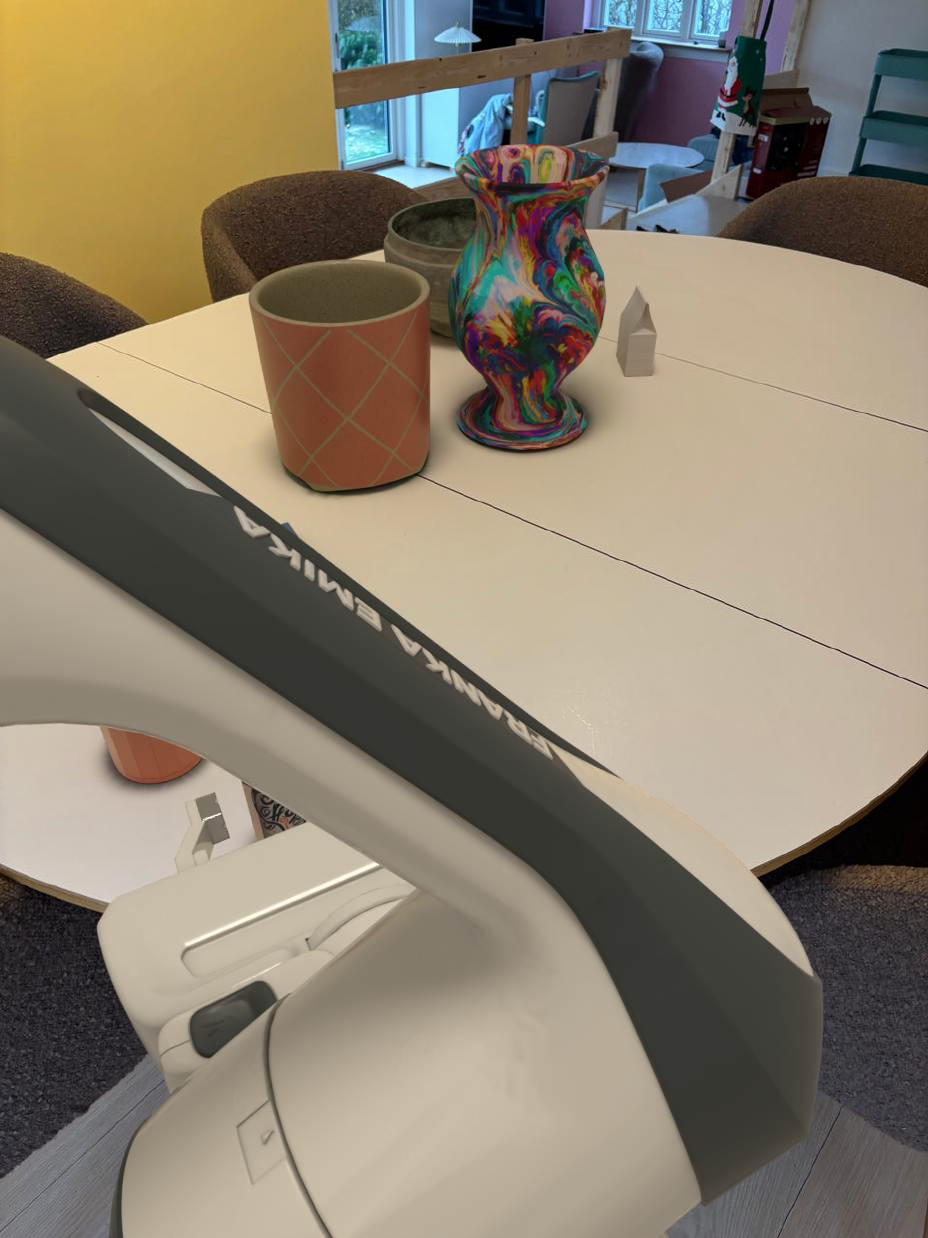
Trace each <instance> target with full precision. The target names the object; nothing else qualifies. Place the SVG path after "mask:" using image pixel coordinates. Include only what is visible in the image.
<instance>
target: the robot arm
mask: <svg viewBox="0 0 928 1238" xmlns="http://www.w3.org/2000/svg"><path fill="white" fill-rule="evenodd" d="M281 524H282V523H280V522H279V521H277V520H276V519H275V518H273V517H272V516H271V515H269V514H268V513H266V512H265V511H264V510H263V509H262V508H260V507H258V506H257V505H256V504H255V503H253V502H251V501H250V500H249V499H248V498H246V497H245V496H243V495H242V494H241V493H240V492H238V491H237V490H235V489H234V488H233V487H231V486H230V485H229V484H227V483H226V482H225V481H223V480H222V479H220V478H219V477H217V476H216V475H215V474H213V473H212V472H211V471H210V470H208V468H207V469H206V468H205V467H204V466H203V465H201V464H200V463H199V462H197V461H195V459H193V458H192V457H190V456H189V455H187V454H186V453H185V452H183V451H182V450H181V449H179V448H178V447H176V446H175V445H174V444H172V443H171V442H169V440H166V439H165V438H164V437H162V436H161V435H160V434H158V433H157V432H155V431H154V430H152V429H151V428H150V427H148V426H147V425H146V424H144V423H143V422H141V421H140V420H138V419H137V418H136V417H135V416H133V415H131V414H130V413H129V412H127V411H125V410H124V409H122V408H121V407H120V406H118V405H117V404H115V403H114V402H112V401H111V400H110V399H109V398H106V397H105V396H104V395H103V394H101V393H99V392H98V391H96V390H95V389H94V388H92V387H91V386H89V385H88V384H87V383H84V382H83V381H82V380H80V379H79V378H77V377H75V376H74V375H72V374H70V373H69V372H67V371H66V370H64V369H62V368H60V366H57V365H55V364H54V363H53V362H50V361H49V360H48V359H45V358H44V357H42V356H41V355H38V354H37V353H35V352H33V351H32V350H30V349H28V348H27V347H25V346H23V345H21V344H19V343H18V342H15V341H14V340H12V339H10V338H8V337H6V336H3V335H1V334H0V728H5V727H14V726H33V725H57V724H58V725H76V726H88V727H89V726H91V727H99V726H103V727H109V728H114V729H119V730H124V731H130V732H135V733H140V734H145V735H148V736H151V737H155V738H158V739H161V740H164V741H167V742H169V743H172V744H175V745H177V746H180V747H182V748H184V749H186V750H188V751H190V752H193V753H195V754H197V755H199V756H200V757H202V759H204V760H206V761H208V762H210V763H212V764H214V765H215V766H217V767H218V768H220V769H222V770H223V771H225V772H226V773H228V774H229V775H231V776H233V777H235V778H236V779H238V780H240V782H241V781H243V782H245V783H246V784H248V785H249V786H251V787H253V788H254V789H256V790H258V791H259V792H261V793H263V794H264V795H266V796H267V797H269V798H271V799H272V800H274V801H276V802H277V803H279V804H281V805H282V806H284V807H285V808H287V809H289V810H290V811H292V812H294V813H295V814H297V815H299V816H300V817H302V818H303V819H305V820H307V821H308V822H306V823H303V824H301V825H298V826H296V827H293V828H291V829H288V830H286V831H283V832H280V833H278V834H275V835H273V836H270V837H268V838H265V839H263V840H260V841H258V842H257V841H254V842H253V843H250V844H247V845H245V846H242V847H240V848H238V849H235V850H232V851H230V852H228V853H227V852H226V853H225V854H222V855H220V856H217V857H215V858H212V859H211V856H212V853H213V850H214V847H215V845H216V844H219V843H221V842H224V841H226V840H229V839H231V836H230V833H229V830H228V827H227V824H226V820H225V818H224V815H223V812H222V809H221V806H220V803H219V801H218V797H217V794H216V792H215V791H214V792H212V793H209V794H206V795H203V796H200V797H197V798H195V799H191V800H188V801H186V802H184V807H185V809H186V813H187V816H188V819H189V822H190V826H188V828H187V830H186V832H185V834H184V837H183V839H182V841H181V844H180V846H179V848H178V851H177V853H176V855H175V858H174V864H175V867H176V873H174V874H172V875H169V876H167V877H164V878H162V879H159V880H156V881H154V882H151V883H149V884H146V885H144V886H141V887H139V888H136V889H134V890H131V891H127V892H126V893H122V894H120V895H118V896H116V897H115V898H113V899H112V900H111V901H110V902H109V904H108V905H107V907H106V909H104V912H103V914H102V915H101V917H100V919H99V920H98V923H97V925H96V932H97V939H98V943H99V947H100V950H101V954H102V959H103V961H104V965H105V968H106V971H107V973H108V975H109V978H110V981H111V983H112V986H113V988H114V990H115V993H116V995H117V997H118V999H119V1001H120V1004H121V1005H122V1007H123V1009H124V1011H125V1013H126V1015H127V1018H128V1019H129V1022H130V1023H131V1025H132V1028H133V1029H134V1032H135V1033H136V1035H137V1036H138V1038H139V1040H140V1042H141V1044H142V1046H143V1047H144V1049H145V1050H146V1052H147V1054H148V1056H149V1057H150V1059H151V1060H152V1062H153V1064H154V1065H155V1066H156V1068H157V1069H158V1070H159V1072H160V1073H161V1074H162V1076H163V1079H164V1083H165V1086H166V1089H167V1091H168V1096H167V1097H166V1098H165V1099H164V1101H163V1102H162V1103H161V1104H160V1105H158V1107H157V1109H155V1111H154V1112H153V1113H152V1114H151V1115H149V1116H148V1117H146V1118H145V1119H144V1120H143V1121H142V1122H141V1123H140V1124H139V1125H138V1126H137V1128H136V1129H135V1130H134V1132H133V1134H132V1135H131V1137H130V1139H129V1141H128V1143H127V1146H126V1148H125V1151H124V1155H123V1157H122V1161H121V1163H120V1167H119V1169H118V1173H117V1178H116V1182H115V1186H114V1191H113V1197H112V1201H111V1209H110V1218H109V1227H108V1238H670V1236H669V1234H668V1232H667V1230H668V1229H670V1228H671V1227H672V1226H673V1225H674V1224H676V1223H677V1222H678V1221H679V1220H680V1219H681V1218H683V1217H684V1216H685V1215H686V1214H687V1213H689V1212H690V1211H691V1210H693V1209H694V1208H695V1207H696V1206H697V1205H698V1204H700V1205H701V1206H703V1207H704V1208H706V1207H708V1206H709V1205H710V1204H713V1202H715V1201H717V1200H718V1199H719V1198H721V1197H722V1196H724V1195H725V1194H727V1193H728V1192H730V1191H731V1190H733V1189H734V1188H735V1187H737V1186H738V1185H740V1184H742V1183H743V1182H744V1181H746V1180H747V1179H749V1178H751V1177H752V1176H753V1175H755V1174H756V1173H758V1172H759V1171H761V1170H762V1169H764V1168H765V1167H766V1166H769V1164H771V1163H772V1162H774V1161H775V1160H777V1159H778V1158H780V1157H782V1155H785V1154H786V1153H787V1152H789V1151H790V1150H792V1149H794V1148H795V1147H797V1146H798V1145H800V1144H801V1143H802V1142H804V1141H805V1140H807V1139H808V1138H809V1137H810V1132H811V1126H812V1121H813V1116H814V1112H815V1111H814V1110H815V1107H816V1101H817V1094H818V1087H819V1079H820V1071H821V1063H822V1055H823V1040H824V1039H823V1036H824V1035H823V1034H824V989H823V987H824V985H823V981H822V980H821V978H820V977H819V975H818V973H816V971H815V970H814V968H813V967H812V965H811V962H810V959H809V957H808V955H807V951H806V949H805V948H804V946H803V944H802V941H801V939H800V938H799V935H798V933H797V931H796V930H795V928H794V927H793V925H792V923H791V921H790V920H789V918H788V917H787V915H786V914H785V912H784V911H783V909H782V908H781V906H780V905H779V904H778V902H777V901H776V900H775V899H774V897H773V896H772V895H771V893H770V892H769V891H768V890H767V888H766V887H765V886H764V884H763V883H762V882H761V881H760V880H759V879H758V877H756V875H755V874H754V873H753V872H752V871H751V869H749V867H747V865H746V864H744V862H743V861H742V860H741V859H740V857H738V856H737V855H736V854H735V853H734V852H733V851H732V850H731V849H730V848H729V847H728V846H726V845H725V844H724V843H723V842H722V841H721V840H719V839H718V838H717V837H716V836H715V835H714V834H713V833H711V831H709V830H708V829H706V827H704V826H703V825H701V824H700V823H699V822H697V821H696V820H694V819H693V818H692V817H690V816H689V815H687V814H686V813H685V812H683V811H682V810H681V809H678V808H677V807H676V806H674V805H672V804H671V803H668V802H667V801H665V800H663V799H662V798H660V797H658V796H656V795H655V794H652V793H650V792H649V791H646V790H644V789H643V788H641V787H639V786H637V785H634V784H633V783H630V782H629V781H627V780H624V779H623V778H621V776H619V775H617V774H616V773H614V772H613V771H612V770H610V769H609V768H608V767H606V766H605V765H603V764H602V763H600V762H599V761H597V760H596V759H594V758H593V757H591V756H590V755H588V754H587V753H585V752H584V751H582V750H581V749H580V748H578V747H576V746H575V745H573V744H572V743H570V742H569V741H568V740H566V739H564V738H563V737H562V736H560V735H559V734H557V733H556V732H554V731H553V730H552V729H550V728H549V727H547V726H546V725H544V724H543V723H542V722H540V721H539V720H538V719H536V718H535V717H534V716H533V715H531V714H529V713H528V712H527V711H526V710H525V709H523V708H522V707H520V706H519V705H518V704H517V703H516V702H514V701H513V700H512V699H510V698H509V697H508V696H506V695H505V694H504V693H502V692H500V691H499V690H498V689H497V688H495V687H494V686H493V685H492V684H491V683H489V682H487V681H486V680H485V679H484V678H483V677H481V676H480V675H479V674H477V672H475V671H473V669H471V668H470V667H468V666H467V665H466V664H464V663H463V662H462V661H460V660H459V659H458V658H457V657H455V656H454V655H453V654H451V653H450V652H449V651H447V650H446V649H445V648H444V647H442V646H441V645H439V644H438V643H437V642H436V641H434V640H433V639H432V638H431V637H429V636H428V635H427V634H425V633H424V632H423V631H421V630H420V629H418V628H417V627H416V626H415V625H413V624H412V623H411V622H409V621H408V620H407V619H406V618H404V617H403V616H402V615H400V614H399V613H397V611H395V610H394V609H392V608H391V607H390V606H389V605H387V604H386V603H385V602H384V601H382V600H380V598H378V597H377V596H376V595H374V594H373V593H372V592H370V590H368V589H367V588H365V587H364V586H362V585H361V584H360V583H358V582H357V581H356V580H355V579H354V578H352V577H351V576H349V574H347V573H346V572H344V571H343V570H342V569H341V568H340V567H338V566H336V565H335V564H334V563H333V562H332V561H330V560H329V559H327V558H326V557H325V556H324V555H322V554H321V553H320V552H319V551H317V550H316V549H315V548H313V547H312V546H311V545H309V544H308V543H307V542H305V541H304V540H303V539H301V538H300V537H299V536H298V535H297V536H298V537H299V538H298V537H297V536H296V535H294V534H293V533H292V532H290V531H289V530H288V529H286V528H285V527H284V526H282V525H281Z"/></svg>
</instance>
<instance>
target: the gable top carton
mask: <svg viewBox="0 0 928 1238" xmlns="http://www.w3.org/2000/svg"><path fill="white" fill-rule="evenodd" d="M657 339H658V333H657V330H656V327H655V324H654V322H653V319H652V316H651V311H650V304H649V302H648V300H647V298H646V296H645V294H644V292H643V290H642V288H641V287H640V286H638V285H635V288H634V291H633V292H632V295H631V296H630V299H629V300H628V302H627V304H626V305H625V307H624V309H623V310H622V312H621V314H620V318H619V326H618V337H617V343H616V344H617V346H616V355H615V356H616V359H617V361H618V364H619V366H620V368H621V371H622V374H623V376H624V377H651V376H652V375H653V367H654V359H655V352H656V345H657Z"/></svg>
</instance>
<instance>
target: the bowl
mask: <svg viewBox="0 0 928 1238" xmlns="http://www.w3.org/2000/svg"><path fill="white" fill-rule="evenodd" d="M476 222H477V221H476V204H475V201H474V199H473V197H472V196H459V197H446V198H441V199H435V200H434V199H433V200H428V201H425V202H421V203H418V204H413V205H410V206H408V207H405V208H403V209H400V210H399V211H398V212H396V213H395V214H393V215H392V216H391V217H390V218H389V220H388V222H387V231H388V232H387V233H386V235H385V237H384V239H383V256H384V262H387V263H392V264H396V265H399V266H403V267H406V268H408V269H411V270H413V271H415V272H417V273H418V274H420V275H421V276H423V277H424V278H425V279H426V280H427V282H428V284H429V287H430V330H431V331H433V332H435V333H437V334H439V335H441V336H445V337H447V338H452V339H455V338H454V335H453V332H452V328H451V325H450V320H449V310H448V299H447V297H448V291H449V285H450V278H451V272H452V269H453V267H454V266H455V264H456V262H457V260H458V258H459V256H460V254H461V252H462V250H463V248H464V247H465V245H466V243H467V241H468V239H469V236H470V234H471V232H472V230H473V228H474V226H475V224H476Z"/></svg>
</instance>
